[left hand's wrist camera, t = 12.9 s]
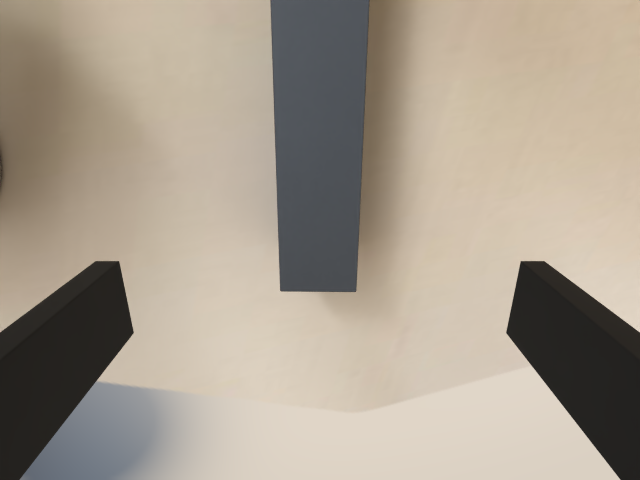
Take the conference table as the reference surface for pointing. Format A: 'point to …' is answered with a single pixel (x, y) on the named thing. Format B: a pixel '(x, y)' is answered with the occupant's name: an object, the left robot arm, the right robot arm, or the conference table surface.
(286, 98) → the post
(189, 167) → the conference table surface
